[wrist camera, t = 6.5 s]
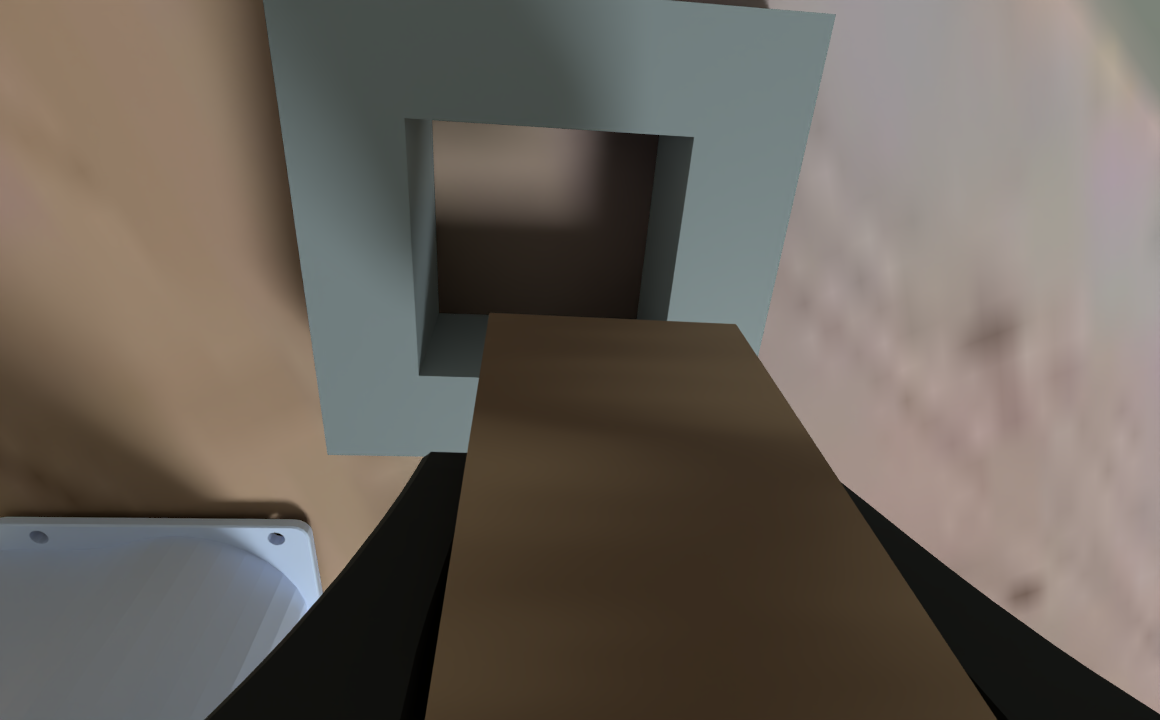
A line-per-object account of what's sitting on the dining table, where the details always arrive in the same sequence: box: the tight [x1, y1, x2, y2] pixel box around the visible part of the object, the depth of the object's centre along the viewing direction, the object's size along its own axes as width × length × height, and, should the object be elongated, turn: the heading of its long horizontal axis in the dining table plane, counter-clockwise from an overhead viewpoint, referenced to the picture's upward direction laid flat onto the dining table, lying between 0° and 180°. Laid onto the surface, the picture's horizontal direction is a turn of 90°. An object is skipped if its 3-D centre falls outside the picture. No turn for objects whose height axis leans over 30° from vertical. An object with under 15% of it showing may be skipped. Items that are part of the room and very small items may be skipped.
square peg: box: [425, 313, 997, 720], centre depth 8 cm, size 4×4×7 cm
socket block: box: [263, 0, 836, 456], centre depth 15 cm, size 10×10×4 cm
